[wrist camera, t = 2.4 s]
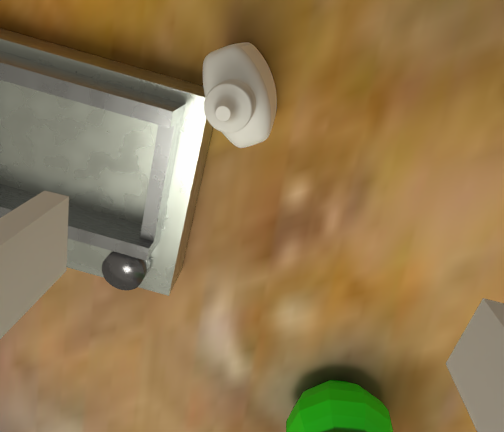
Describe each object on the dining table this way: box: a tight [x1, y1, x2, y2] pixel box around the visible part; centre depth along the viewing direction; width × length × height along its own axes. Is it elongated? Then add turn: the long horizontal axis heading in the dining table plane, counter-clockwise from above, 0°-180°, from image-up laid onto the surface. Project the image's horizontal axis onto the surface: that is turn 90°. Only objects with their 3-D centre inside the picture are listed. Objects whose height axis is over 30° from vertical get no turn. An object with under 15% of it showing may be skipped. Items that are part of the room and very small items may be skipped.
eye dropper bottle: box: [203, 42, 277, 148], centre depth 24 cm, size 4×6×12 cm
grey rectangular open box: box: [0, 28, 213, 296], centre depth 30 cm, size 16×22×7 cm
